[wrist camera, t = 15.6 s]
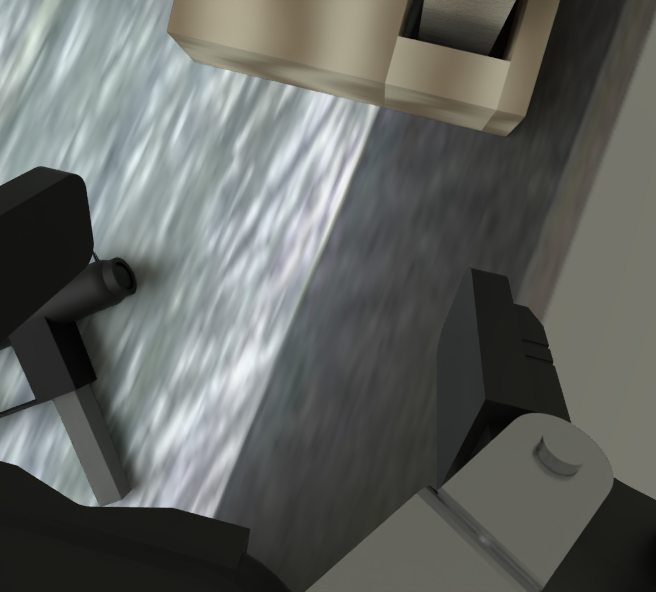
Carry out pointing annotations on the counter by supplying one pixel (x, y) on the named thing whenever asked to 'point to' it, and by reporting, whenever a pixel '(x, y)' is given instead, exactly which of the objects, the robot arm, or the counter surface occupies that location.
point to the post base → (369, 55)
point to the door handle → (75, 369)
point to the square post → (464, 23)
